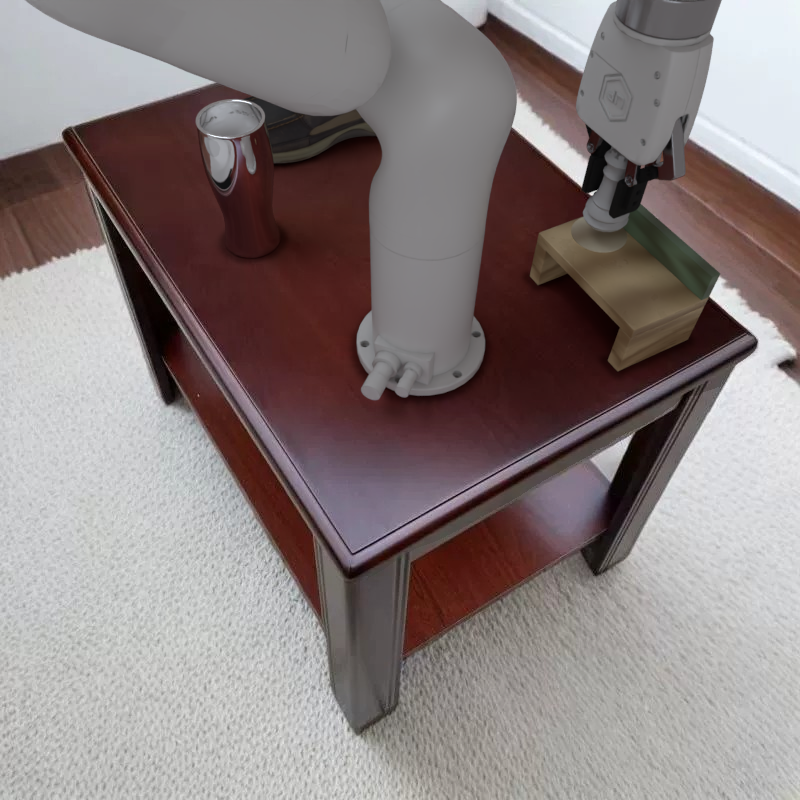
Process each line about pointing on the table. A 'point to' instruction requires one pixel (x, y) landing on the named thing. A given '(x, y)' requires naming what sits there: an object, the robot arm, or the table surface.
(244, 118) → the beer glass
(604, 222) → the rook chess piece
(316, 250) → the table surface
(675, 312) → the shelf
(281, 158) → the boat shoe
